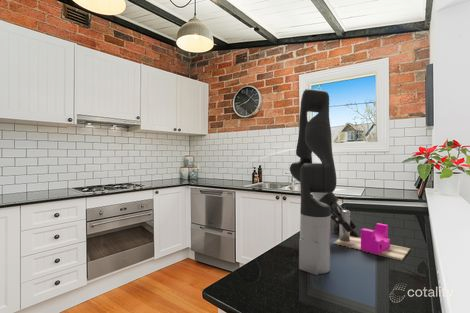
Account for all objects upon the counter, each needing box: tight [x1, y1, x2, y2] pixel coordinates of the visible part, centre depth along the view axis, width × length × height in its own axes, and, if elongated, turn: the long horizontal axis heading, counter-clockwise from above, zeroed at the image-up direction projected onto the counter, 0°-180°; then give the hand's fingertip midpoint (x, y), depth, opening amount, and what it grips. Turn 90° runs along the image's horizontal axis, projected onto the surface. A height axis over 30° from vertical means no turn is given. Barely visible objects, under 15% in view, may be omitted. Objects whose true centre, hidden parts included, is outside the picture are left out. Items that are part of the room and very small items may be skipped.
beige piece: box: [332, 209, 411, 261], centre depth 106 cm, size 14×24×13 cm, turn 48°
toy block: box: [360, 222, 391, 255], centre depth 104 cm, size 15×6×8 cm, turn 130°
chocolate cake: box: [331, 221, 360, 238], centre depth 124 cm, size 10×7×12 cm
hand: (352, 229), depth 111 cm, fingers closed on beige piece, 4 cm apart
